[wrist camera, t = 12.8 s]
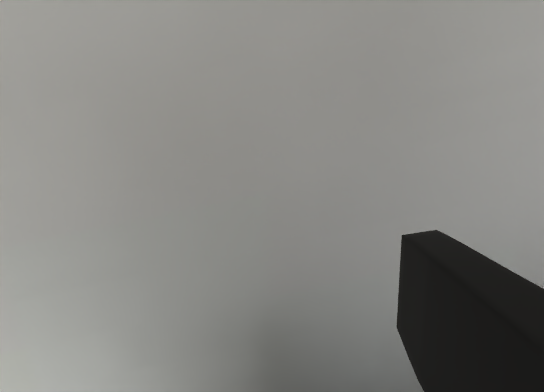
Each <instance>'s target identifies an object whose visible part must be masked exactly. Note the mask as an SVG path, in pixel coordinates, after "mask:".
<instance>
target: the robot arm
mask: <svg viewBox="0 0 544 392" xmlns="http://www.w3.org/2000/svg"><path fill="white" fill-rule="evenodd" d="M397 329H398V332H399V334H400V337H401V339H402V342H403V345H404V347H405V350H406V352H407V355H408V357H409V360H410V362H411V364H412V367H413V369H414V372H415V374H416V376H417V379H418V381H419V383H420V385H421V386H422V388H423V390H424V392H544V289H543V288H541V287H539V286H537V285H535V284H534V283H532V282H530V281H528V280H526V279H525V278H523V277H521V276H519V275H517V274H516V273H514V272H512V271H510V270H508V269H507V268H505V267H503V266H501V265H500V264H498V263H496V262H494V261H493V260H491V259H489V258H487V257H486V256H484V255H482V254H480V253H479V252H477V251H475V250H473V249H471V248H470V247H468V246H466V245H464V244H462V243H461V242H459V241H457V240H455V239H453V238H451V237H450V236H448V235H446V234H444V233H442V232H440V231H437V230H433V231H426V232H420V233H414V234H407V235H402V242H401V260H400V278H399V295H398V313H397Z"/></svg>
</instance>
